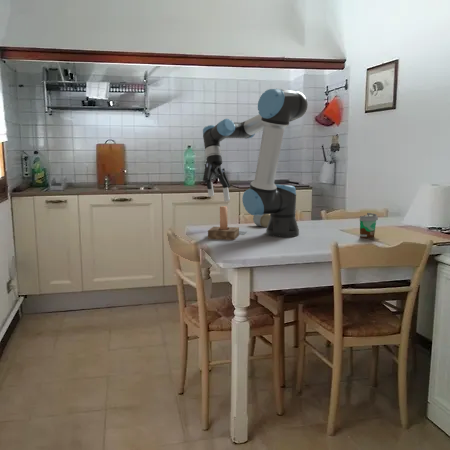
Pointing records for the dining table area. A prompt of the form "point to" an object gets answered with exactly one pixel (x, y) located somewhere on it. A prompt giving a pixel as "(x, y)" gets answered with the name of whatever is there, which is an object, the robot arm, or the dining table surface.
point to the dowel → (223, 218)
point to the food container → (368, 225)
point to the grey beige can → (261, 220)
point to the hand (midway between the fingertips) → (219, 198)
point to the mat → (242, 233)
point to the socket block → (223, 233)
